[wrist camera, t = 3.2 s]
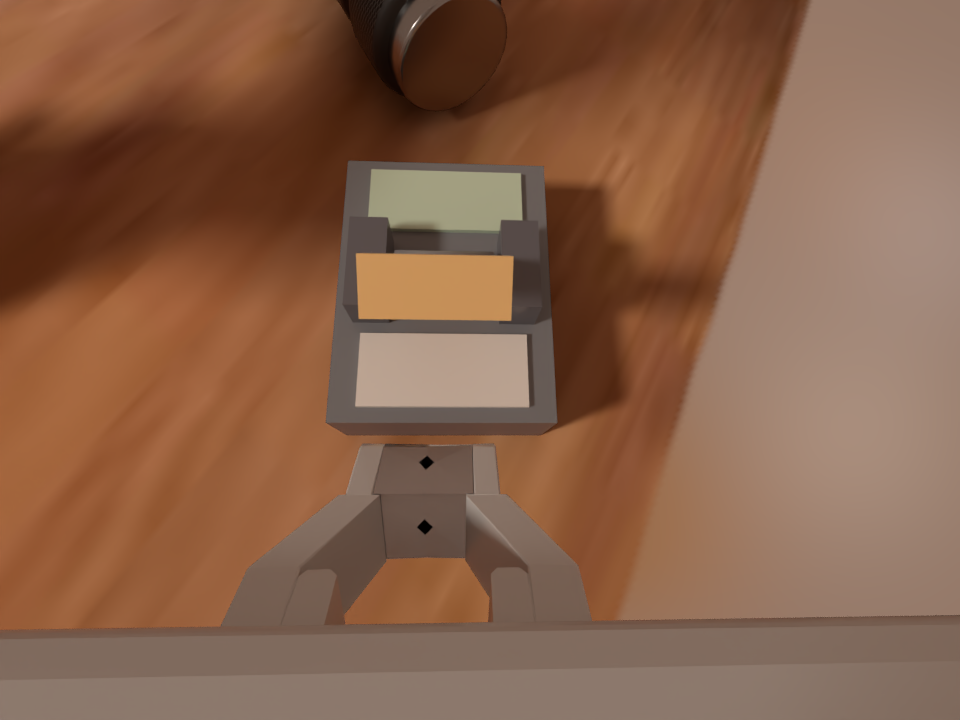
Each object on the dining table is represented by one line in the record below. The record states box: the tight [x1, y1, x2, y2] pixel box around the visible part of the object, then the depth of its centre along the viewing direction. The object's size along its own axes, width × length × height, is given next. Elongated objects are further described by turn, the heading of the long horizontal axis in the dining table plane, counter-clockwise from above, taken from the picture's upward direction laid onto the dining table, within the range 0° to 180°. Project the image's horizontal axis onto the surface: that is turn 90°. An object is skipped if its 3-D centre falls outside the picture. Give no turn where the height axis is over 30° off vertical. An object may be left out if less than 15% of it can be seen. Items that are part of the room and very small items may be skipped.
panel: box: [326, 161, 557, 435], centre depth 28 cm, size 16×12×8 cm
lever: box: [356, 250, 514, 321], centre depth 20 cm, size 2×5×12 cm, turn 89°
